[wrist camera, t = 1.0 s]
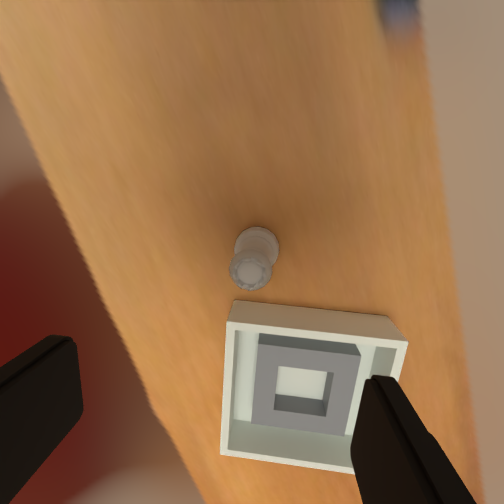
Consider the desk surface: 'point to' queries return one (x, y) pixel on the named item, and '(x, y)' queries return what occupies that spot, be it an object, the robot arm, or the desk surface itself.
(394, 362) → the box
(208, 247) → the desk surface
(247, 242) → the rook chess piece
